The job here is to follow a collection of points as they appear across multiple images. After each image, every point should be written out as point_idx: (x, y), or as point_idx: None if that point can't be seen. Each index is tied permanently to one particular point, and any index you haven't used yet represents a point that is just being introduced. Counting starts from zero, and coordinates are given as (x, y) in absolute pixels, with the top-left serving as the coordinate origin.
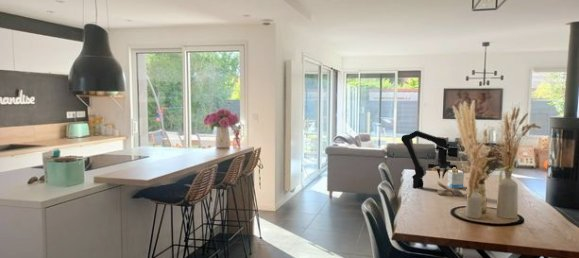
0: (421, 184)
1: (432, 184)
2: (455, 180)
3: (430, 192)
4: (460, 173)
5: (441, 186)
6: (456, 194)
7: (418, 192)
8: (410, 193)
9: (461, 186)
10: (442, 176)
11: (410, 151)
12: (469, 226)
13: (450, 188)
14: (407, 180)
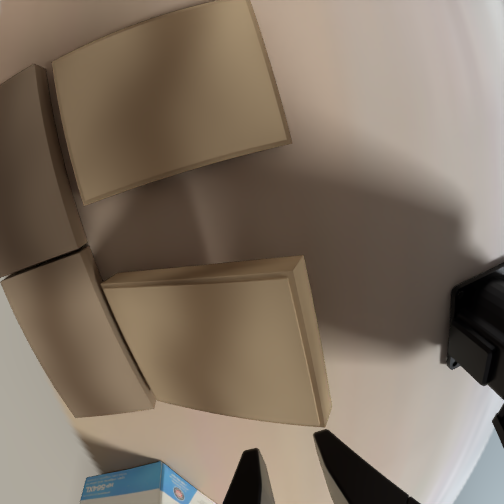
0: (482, 321)
1: None
2: None
3: (366, 114)
4: None
5: (240, 262)
6: (17, 78)
7: (467, 68)
8: (496, 16)
9: (92, 485)
10: (264, 487)
11: None
12: None
13: (142, 396)
14: (479, 452)
